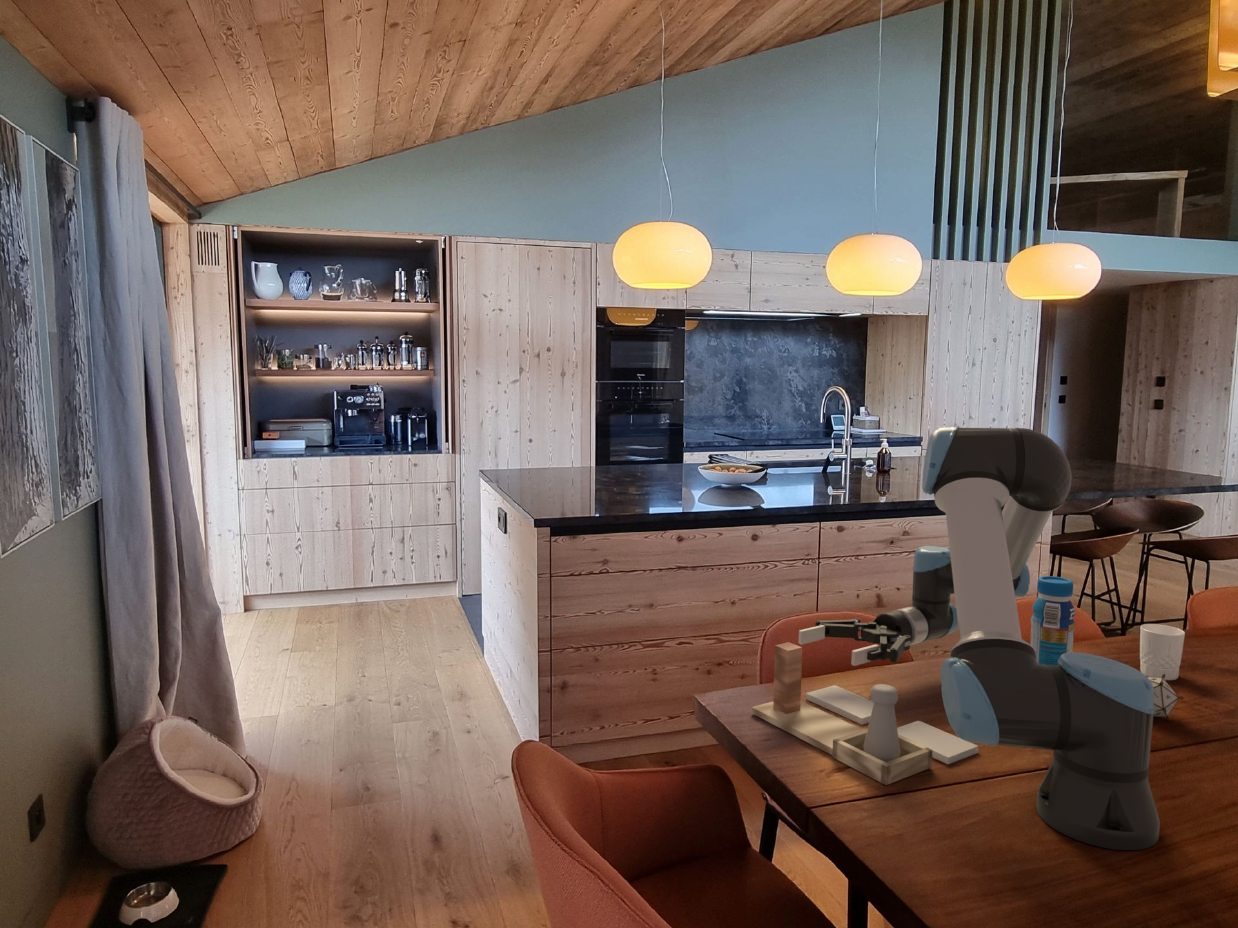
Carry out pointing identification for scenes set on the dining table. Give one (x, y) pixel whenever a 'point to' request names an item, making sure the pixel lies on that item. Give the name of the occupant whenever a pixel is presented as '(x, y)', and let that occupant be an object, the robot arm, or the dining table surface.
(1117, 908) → the dining table surface
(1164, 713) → the game die
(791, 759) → the dining table surface
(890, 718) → the salt shaker
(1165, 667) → the white cup
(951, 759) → the broken strip
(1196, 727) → the dining table surface
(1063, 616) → the beverage bottle
